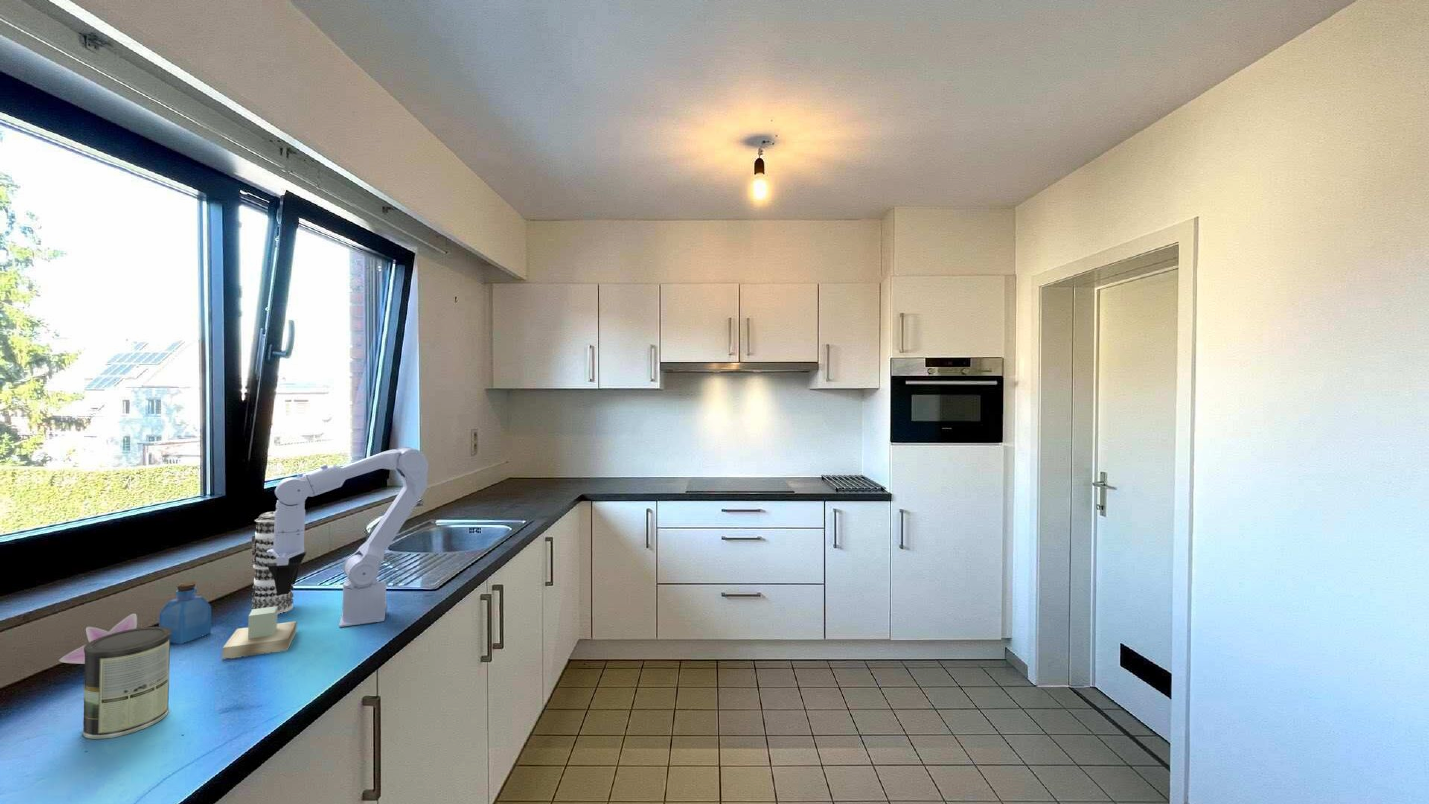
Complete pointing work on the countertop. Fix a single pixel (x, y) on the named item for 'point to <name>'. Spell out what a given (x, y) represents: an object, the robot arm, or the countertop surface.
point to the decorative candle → (266, 568)
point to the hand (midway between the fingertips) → (286, 589)
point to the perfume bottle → (186, 615)
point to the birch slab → (259, 641)
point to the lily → (96, 633)
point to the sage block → (262, 622)
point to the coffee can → (126, 682)
